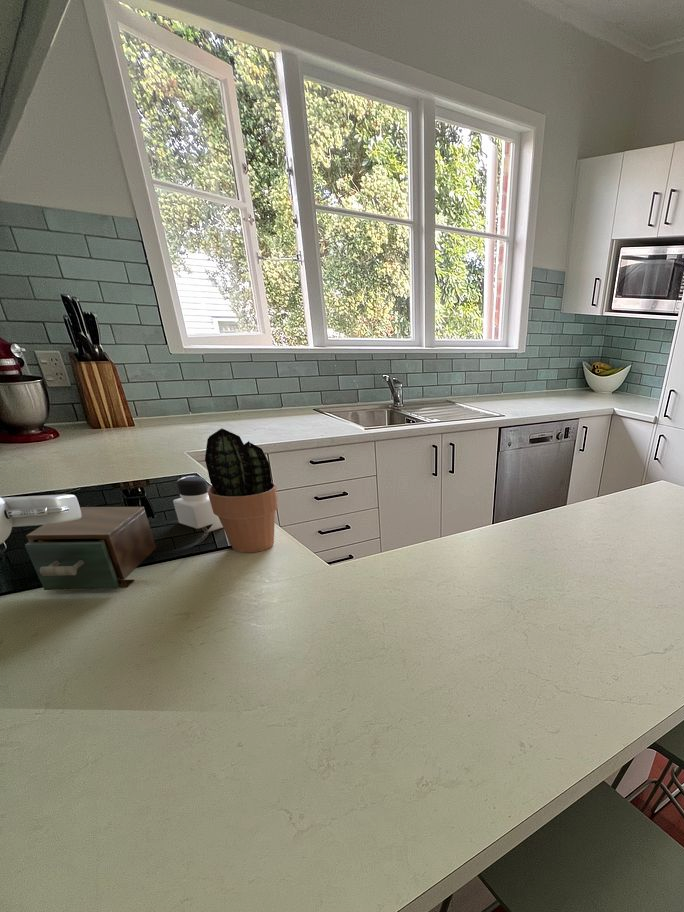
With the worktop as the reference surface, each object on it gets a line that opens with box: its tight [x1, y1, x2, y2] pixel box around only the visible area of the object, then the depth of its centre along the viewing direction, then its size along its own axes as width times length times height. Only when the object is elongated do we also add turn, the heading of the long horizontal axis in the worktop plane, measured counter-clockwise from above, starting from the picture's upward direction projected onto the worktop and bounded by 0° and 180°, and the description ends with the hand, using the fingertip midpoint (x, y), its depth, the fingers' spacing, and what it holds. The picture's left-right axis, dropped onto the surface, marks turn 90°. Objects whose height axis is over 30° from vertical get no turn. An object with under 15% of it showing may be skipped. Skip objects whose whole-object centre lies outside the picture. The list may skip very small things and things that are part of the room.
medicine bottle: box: [172, 475, 224, 534], centre depth 127 cm, size 7×7×12 cm
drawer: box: [24, 539, 120, 591], centre depth 101 cm, size 19×12×9 cm, turn 7°
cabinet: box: [25, 506, 157, 589], centre depth 106 cm, size 16×14×11 cm
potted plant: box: [204, 428, 279, 553], centre depth 115 cm, size 14×14×25 cm
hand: (16, 508), depth 82 cm, fingers open, 8 cm apart
